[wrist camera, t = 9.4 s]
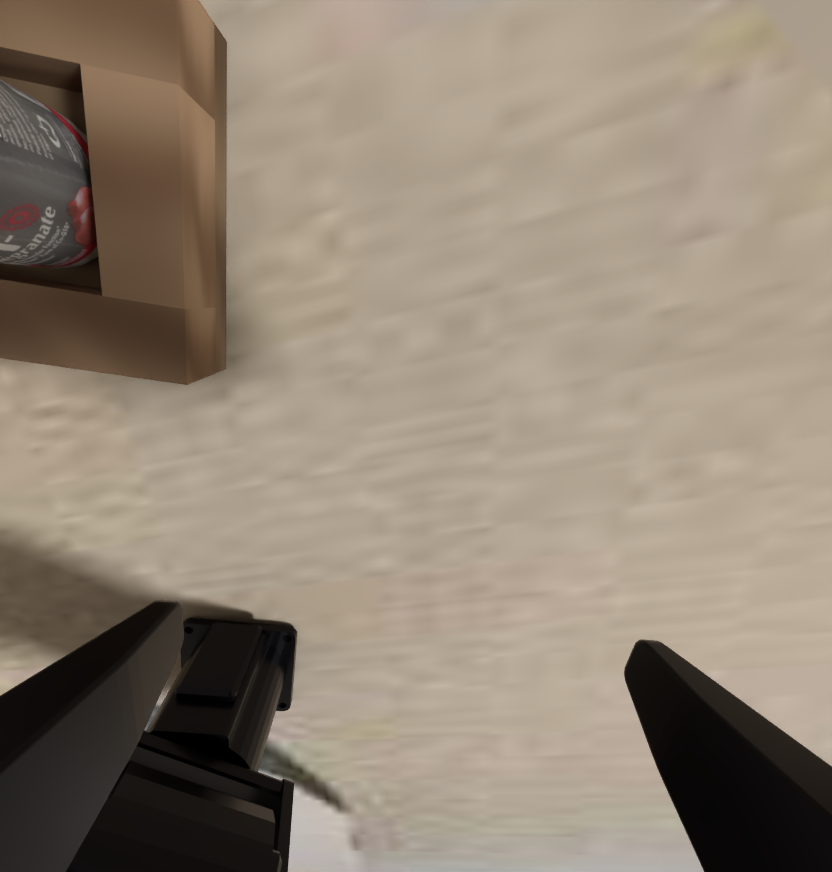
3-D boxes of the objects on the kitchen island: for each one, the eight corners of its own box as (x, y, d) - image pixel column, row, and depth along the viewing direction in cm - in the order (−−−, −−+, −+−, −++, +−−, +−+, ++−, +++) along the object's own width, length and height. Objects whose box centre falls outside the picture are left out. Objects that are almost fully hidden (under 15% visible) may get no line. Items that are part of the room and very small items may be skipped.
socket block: (225, 368, 18) (187, 384, 15) (-61, 326, 17) (-172, 333, 14) (226, 41, 14) (174, -37, 11) (-146, -43, 13) (-331, -159, 10)
